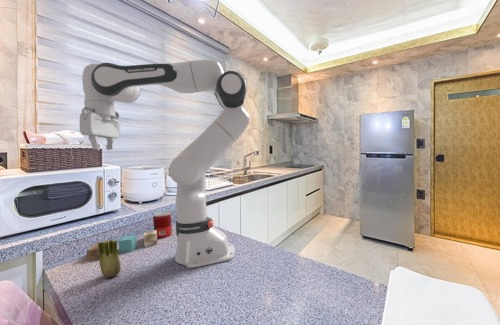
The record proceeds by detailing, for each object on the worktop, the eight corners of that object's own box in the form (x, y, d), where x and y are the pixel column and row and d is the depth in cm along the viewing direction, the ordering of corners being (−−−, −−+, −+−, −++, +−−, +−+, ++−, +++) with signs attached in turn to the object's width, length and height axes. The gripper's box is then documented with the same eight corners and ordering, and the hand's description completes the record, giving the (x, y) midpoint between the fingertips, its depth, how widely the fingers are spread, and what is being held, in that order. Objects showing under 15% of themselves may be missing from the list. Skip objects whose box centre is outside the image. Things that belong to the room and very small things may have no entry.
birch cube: (157, 240, 102) (156, 229, 101) (157, 244, 97) (156, 233, 97) (145, 242, 100) (144, 231, 100) (144, 246, 95) (143, 235, 95)
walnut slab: (115, 250, 93) (114, 241, 93) (106, 258, 86) (105, 248, 86) (97, 252, 92) (96, 243, 92) (87, 260, 85) (86, 250, 85)
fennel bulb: (98, 277, 72) (95, 241, 71) (113, 270, 76) (110, 236, 76) (109, 281, 70) (106, 244, 69) (124, 273, 74) (121, 238, 73)
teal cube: (136, 246, 96) (136, 235, 96) (132, 251, 91) (131, 239, 91) (124, 247, 96) (123, 236, 95) (119, 252, 91) (118, 240, 90)
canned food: (175, 233, 109) (173, 211, 108) (161, 239, 102) (159, 216, 102) (165, 231, 113) (163, 210, 113) (151, 237, 106) (149, 214, 106)
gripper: (93, 105, 70) (96, 148, 71) (121, 115, 90) (124, 149, 91) (71, 105, 69) (75, 149, 70) (105, 116, 90) (107, 150, 90)
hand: (103, 149), depth 81 cm, fingers open, 8 cm apart
